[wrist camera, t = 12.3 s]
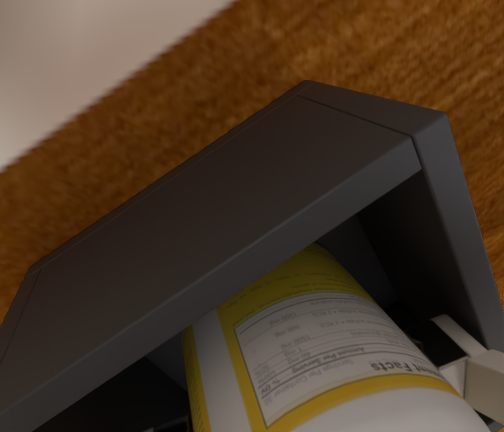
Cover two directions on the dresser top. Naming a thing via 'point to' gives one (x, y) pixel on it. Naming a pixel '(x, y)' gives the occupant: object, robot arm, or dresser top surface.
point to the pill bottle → (313, 360)
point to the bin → (245, 255)
